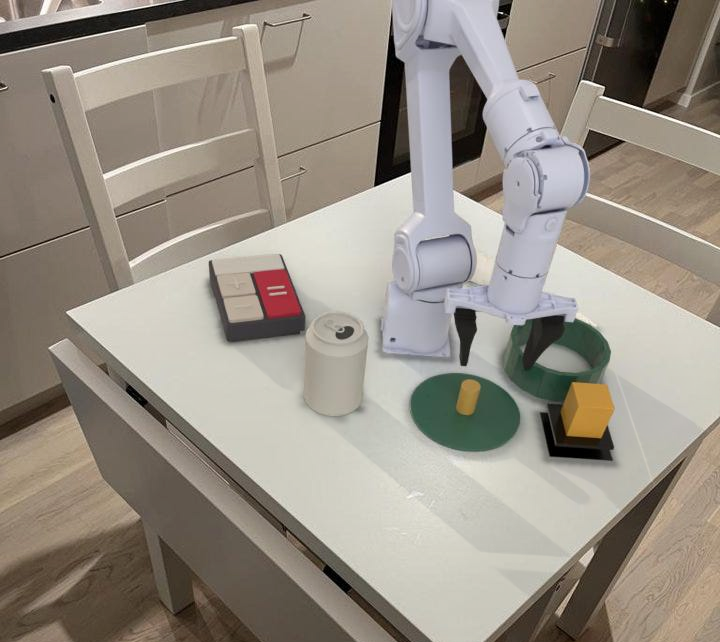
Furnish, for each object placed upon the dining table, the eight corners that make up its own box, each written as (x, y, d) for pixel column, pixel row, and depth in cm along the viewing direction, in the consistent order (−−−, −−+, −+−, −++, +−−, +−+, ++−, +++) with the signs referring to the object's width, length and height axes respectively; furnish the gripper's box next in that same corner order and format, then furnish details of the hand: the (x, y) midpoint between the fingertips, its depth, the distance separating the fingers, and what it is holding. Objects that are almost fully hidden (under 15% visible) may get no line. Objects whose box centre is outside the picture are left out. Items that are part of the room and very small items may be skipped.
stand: (548, 459, 91) (553, 445, 89) (538, 415, 96) (543, 401, 94) (611, 463, 91) (618, 450, 89) (598, 419, 96) (604, 405, 94)
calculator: (226, 321, 98) (207, 255, 106) (227, 346, 101) (209, 280, 110) (306, 312, 101) (281, 248, 109) (305, 336, 104) (281, 273, 113)
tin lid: (410, 451, 90) (416, 421, 86) (407, 375, 99) (412, 345, 95) (525, 458, 90) (536, 429, 87) (511, 382, 100) (520, 353, 96)
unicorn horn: (585, 341, 107) (596, 313, 104) (448, 278, 116) (453, 251, 112) (598, 326, 110) (609, 299, 107) (463, 266, 118) (468, 239, 115)
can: (341, 429, 91) (347, 353, 82) (292, 404, 93) (293, 328, 84) (372, 397, 96) (381, 321, 87) (324, 374, 98) (329, 298, 89)
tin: (508, 401, 97) (517, 371, 93) (497, 338, 106) (505, 309, 102) (607, 408, 98) (620, 379, 94) (588, 345, 107) (599, 316, 103)
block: (566, 436, 90) (578, 406, 86) (560, 411, 93) (571, 381, 89) (601, 438, 90) (615, 408, 87) (594, 414, 93) (607, 384, 89)
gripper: (457, 279, 75) (436, 381, 85) (597, 290, 75) (559, 389, 86) (452, 242, 79) (433, 342, 89) (583, 252, 80) (549, 351, 90)
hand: (494, 363), depth 88 cm, fingers open, 7 cm apart
